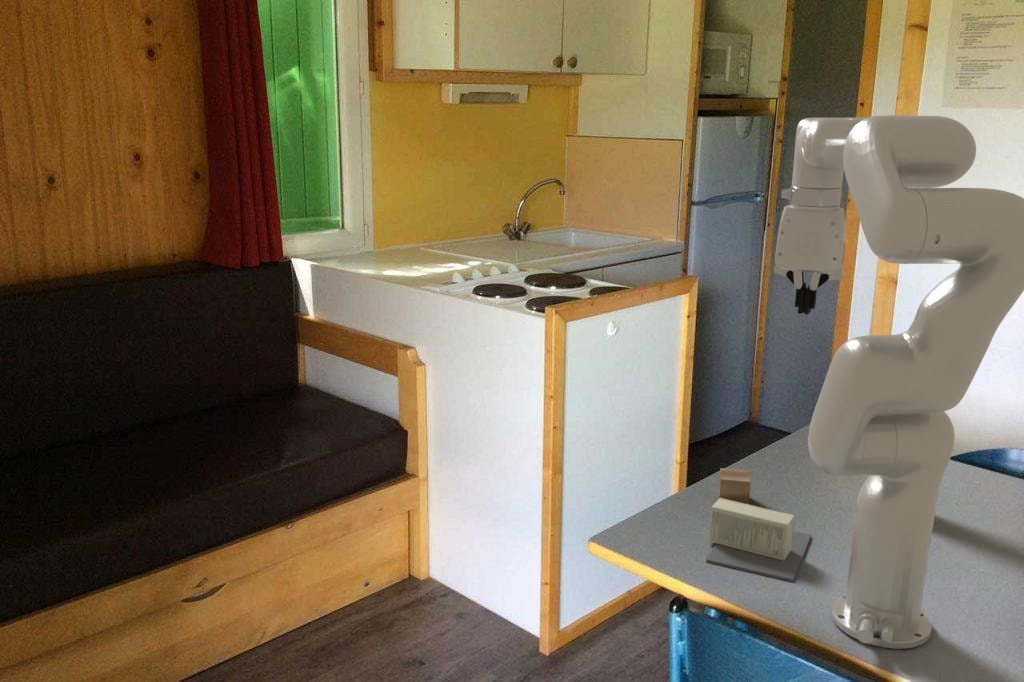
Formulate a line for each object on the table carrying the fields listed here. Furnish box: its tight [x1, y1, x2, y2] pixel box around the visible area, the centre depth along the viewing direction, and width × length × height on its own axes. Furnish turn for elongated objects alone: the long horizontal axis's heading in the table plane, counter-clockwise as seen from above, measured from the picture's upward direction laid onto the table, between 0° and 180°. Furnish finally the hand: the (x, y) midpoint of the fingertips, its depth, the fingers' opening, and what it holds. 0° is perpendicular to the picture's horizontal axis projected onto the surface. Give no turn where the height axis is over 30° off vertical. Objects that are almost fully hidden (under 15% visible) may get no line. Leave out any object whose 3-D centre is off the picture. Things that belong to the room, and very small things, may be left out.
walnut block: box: [717, 467, 751, 505], centre depth 162 cm, size 5×5×5 cm
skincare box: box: [708, 497, 796, 561], centre depth 145 cm, size 6×4×12 cm
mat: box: [705, 530, 812, 583], centre depth 146 cm, size 16×13×1 cm
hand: (804, 312), depth 150 cm, fingers closed
